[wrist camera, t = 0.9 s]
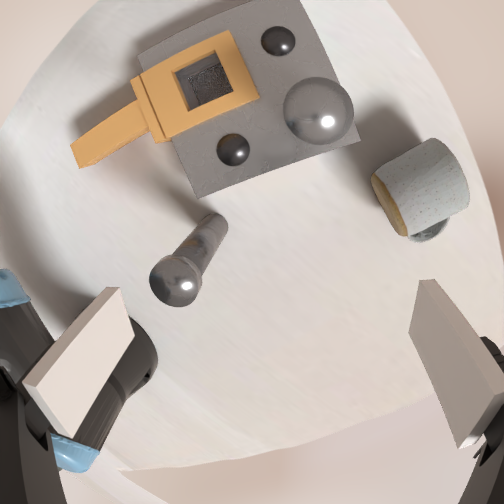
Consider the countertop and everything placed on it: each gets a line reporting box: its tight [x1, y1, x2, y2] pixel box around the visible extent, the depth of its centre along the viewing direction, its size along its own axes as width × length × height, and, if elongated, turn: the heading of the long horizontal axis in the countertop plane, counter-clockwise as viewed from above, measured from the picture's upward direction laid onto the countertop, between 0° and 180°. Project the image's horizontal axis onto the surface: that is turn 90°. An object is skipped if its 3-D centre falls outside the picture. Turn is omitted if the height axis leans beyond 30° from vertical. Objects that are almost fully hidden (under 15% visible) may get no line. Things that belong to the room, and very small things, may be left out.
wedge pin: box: [149, 214, 228, 307], centre depth 28 cm, size 4×4×13 cm
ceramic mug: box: [371, 138, 470, 243], centre depth 26 cm, size 11×8×8 cm
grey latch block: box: [137, 0, 361, 199], centre depth 22 cm, size 16×16×12 cm
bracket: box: [70, 30, 260, 169], centre depth 27 cm, size 20×7×5 cm, turn 112°
